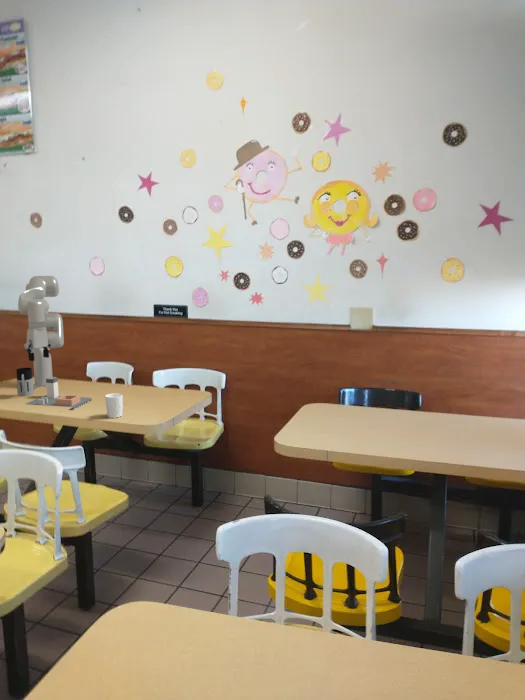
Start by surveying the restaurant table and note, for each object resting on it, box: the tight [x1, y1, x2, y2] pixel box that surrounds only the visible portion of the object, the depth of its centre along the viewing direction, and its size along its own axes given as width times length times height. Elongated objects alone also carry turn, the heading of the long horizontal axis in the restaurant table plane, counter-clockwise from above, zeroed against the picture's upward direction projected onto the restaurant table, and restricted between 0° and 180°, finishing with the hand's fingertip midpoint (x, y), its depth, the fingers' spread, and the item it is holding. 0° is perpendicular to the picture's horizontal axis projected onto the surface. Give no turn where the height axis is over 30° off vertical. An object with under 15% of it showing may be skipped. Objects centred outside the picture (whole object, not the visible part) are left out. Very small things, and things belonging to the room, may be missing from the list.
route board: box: [25, 394, 92, 411], centre depth 274 cm, size 18×26×4 cm
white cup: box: [104, 392, 124, 419], centre depth 254 cm, size 8×8×10 cm
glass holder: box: [15, 367, 35, 397], centre depth 284 cm, size 9×14×15 cm, turn 18°
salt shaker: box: [46, 376, 60, 398], centre depth 281 cm, size 4×4×10 cm
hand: (39, 359), depth 275 cm, fingers open, 9 cm apart
